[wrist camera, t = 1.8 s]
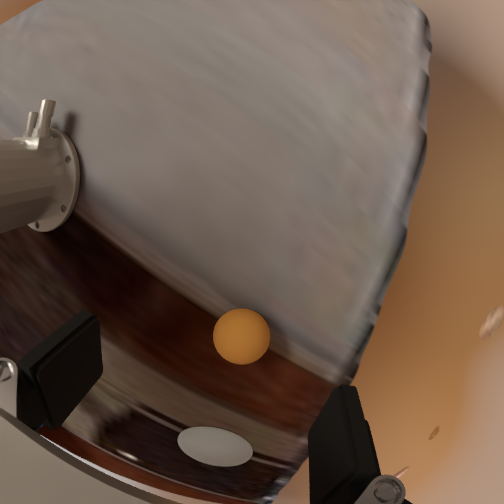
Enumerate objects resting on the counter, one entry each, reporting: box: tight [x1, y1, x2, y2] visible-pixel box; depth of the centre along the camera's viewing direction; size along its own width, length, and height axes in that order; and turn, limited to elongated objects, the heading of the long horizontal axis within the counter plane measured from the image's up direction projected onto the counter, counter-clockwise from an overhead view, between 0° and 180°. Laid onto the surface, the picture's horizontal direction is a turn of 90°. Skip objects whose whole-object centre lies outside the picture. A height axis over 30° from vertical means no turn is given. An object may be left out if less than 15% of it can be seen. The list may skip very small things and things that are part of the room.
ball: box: [213, 308, 270, 364], centre depth 27 cm, size 6×6×6 cm
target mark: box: [178, 426, 253, 466], centre depth 36 cm, size 12×12×1 cm
